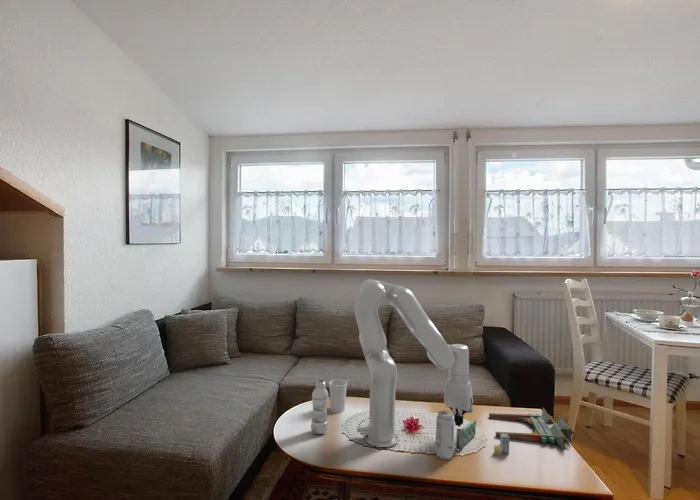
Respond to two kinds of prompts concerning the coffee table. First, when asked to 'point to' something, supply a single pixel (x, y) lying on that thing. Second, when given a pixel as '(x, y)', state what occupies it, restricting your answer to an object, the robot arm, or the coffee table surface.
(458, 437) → the hinge post
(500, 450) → the grey and yellow block
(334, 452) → the coffee table surface
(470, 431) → the gate
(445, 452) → the energy drink can
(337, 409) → the cup
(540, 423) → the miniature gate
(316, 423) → the plastic bottle
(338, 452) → the coffee table surface
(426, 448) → the coffee table surface
